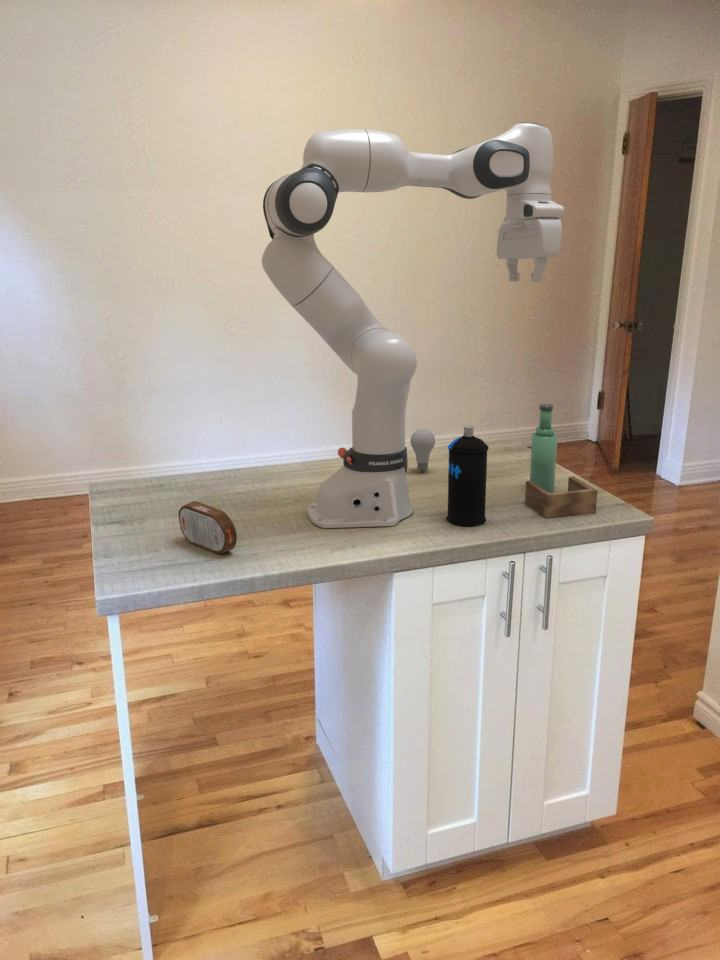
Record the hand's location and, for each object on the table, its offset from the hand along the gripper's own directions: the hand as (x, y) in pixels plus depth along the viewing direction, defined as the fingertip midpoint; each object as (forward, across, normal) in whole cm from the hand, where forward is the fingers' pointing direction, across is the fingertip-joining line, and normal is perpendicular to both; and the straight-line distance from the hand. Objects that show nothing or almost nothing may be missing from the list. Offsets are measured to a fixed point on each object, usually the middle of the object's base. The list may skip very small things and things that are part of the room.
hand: (524, 281), depth 162 cm
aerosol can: (+48, +7, -15) cm, 51 cm away
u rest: (+47, +6, +7) cm, 48 cm away
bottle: (+47, -6, +10) cm, 48 cm away
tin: (+49, +4, -68) cm, 84 cm away
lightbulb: (+46, -28, -11) cm, 55 cm away
